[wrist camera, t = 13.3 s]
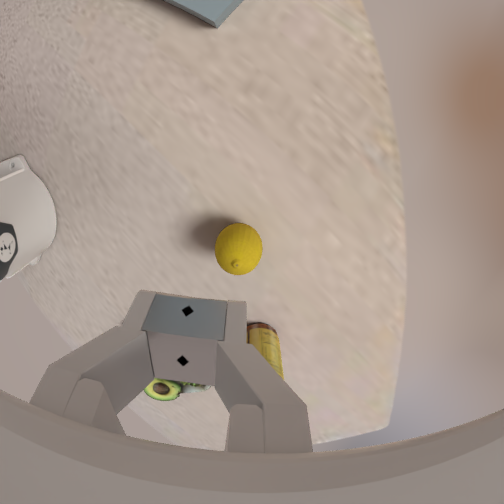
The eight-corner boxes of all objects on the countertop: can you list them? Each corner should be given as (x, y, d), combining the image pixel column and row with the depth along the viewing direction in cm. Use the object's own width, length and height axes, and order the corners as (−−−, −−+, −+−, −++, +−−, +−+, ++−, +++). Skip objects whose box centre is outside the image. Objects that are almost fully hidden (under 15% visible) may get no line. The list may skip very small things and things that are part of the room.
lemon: (247, 259, 40) (245, 295, 33) (211, 240, 39) (201, 272, 32) (270, 228, 38) (273, 258, 31) (232, 205, 37) (227, 232, 30)
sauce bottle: (252, 352, 49) (250, 458, 31) (232, 329, 46) (222, 441, 28) (287, 338, 47) (298, 448, 29) (268, 314, 44) (273, 430, 27)
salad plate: (97, 324, 47) (87, 341, 43) (181, 309, 45) (175, 328, 41) (146, 390, 56) (141, 406, 52) (223, 383, 53) (221, 402, 49)
